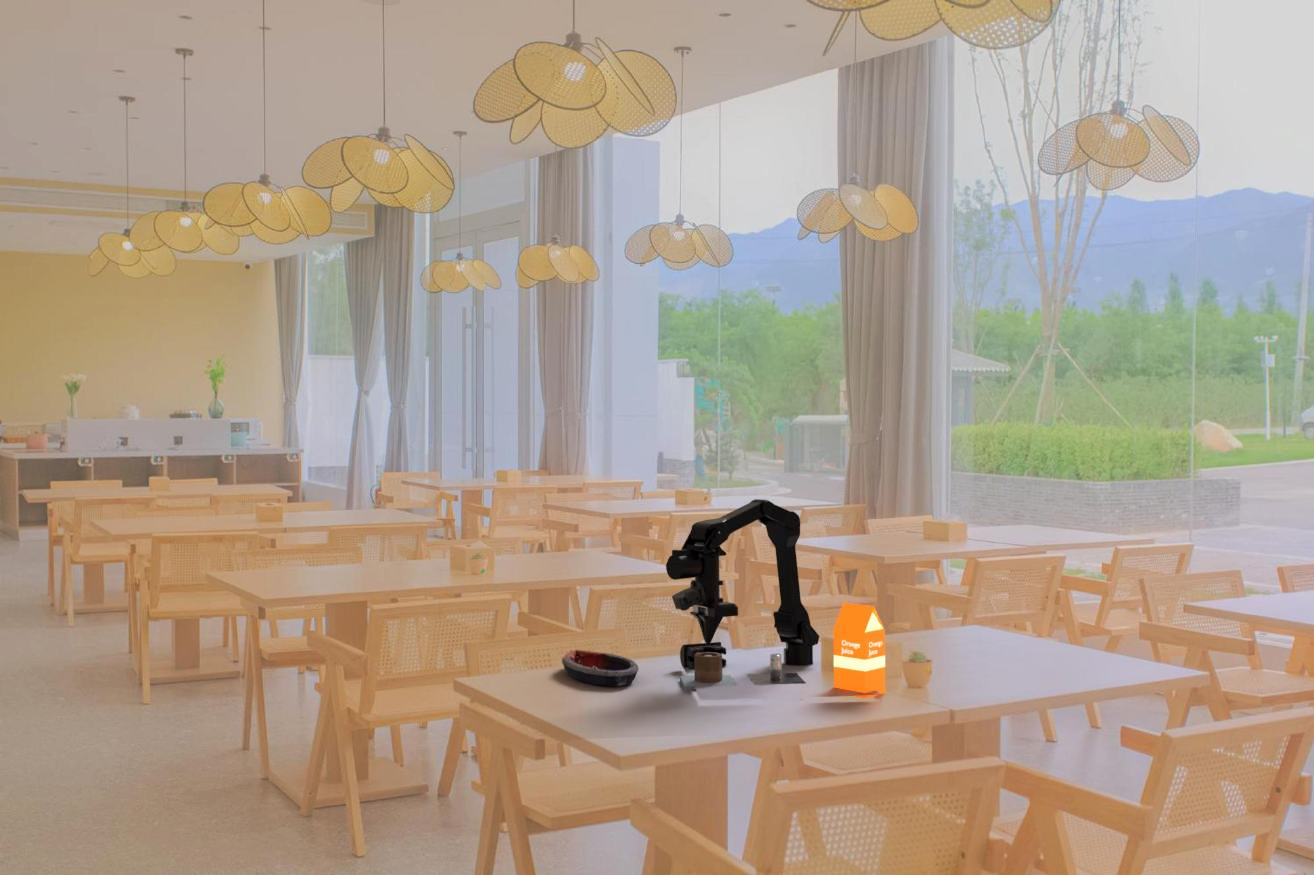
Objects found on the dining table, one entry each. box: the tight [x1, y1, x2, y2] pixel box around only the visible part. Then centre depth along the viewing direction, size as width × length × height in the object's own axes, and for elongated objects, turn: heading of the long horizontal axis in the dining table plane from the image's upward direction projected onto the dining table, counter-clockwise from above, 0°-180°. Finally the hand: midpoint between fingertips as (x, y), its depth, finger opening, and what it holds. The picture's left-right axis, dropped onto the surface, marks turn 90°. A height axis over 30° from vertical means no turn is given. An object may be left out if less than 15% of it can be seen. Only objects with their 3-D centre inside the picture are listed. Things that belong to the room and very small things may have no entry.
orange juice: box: [833, 602, 886, 699], centre depth 282 cm, size 8×9×20 cm
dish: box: [561, 649, 639, 687], centre depth 302 cm, size 16×31×5 cm, turn 24°
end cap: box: [679, 641, 727, 672], centre depth 309 cm, size 10×7×7 cm
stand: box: [746, 653, 807, 686], centre depth 292 cm, size 12×12×7 cm
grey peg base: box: [679, 655, 738, 692], centre depth 291 cm, size 12×12×7 cm
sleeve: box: [693, 652, 723, 683], centre depth 291 cm, size 6×6×7 cm
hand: (707, 642), depth 291 cm, fingers closed
